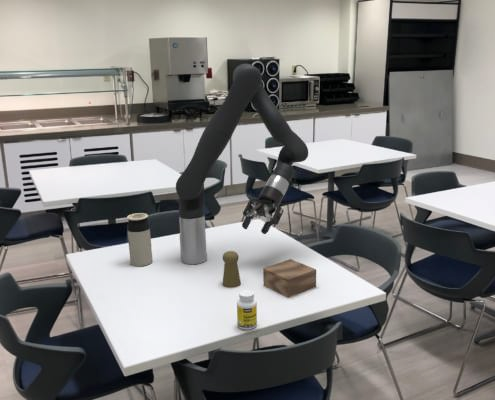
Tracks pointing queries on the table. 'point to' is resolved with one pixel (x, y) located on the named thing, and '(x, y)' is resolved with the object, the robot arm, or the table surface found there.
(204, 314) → the table surface
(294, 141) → the robot arm
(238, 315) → the supplement bottle
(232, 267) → the cork
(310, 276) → the walnut riser
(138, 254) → the travel mug
